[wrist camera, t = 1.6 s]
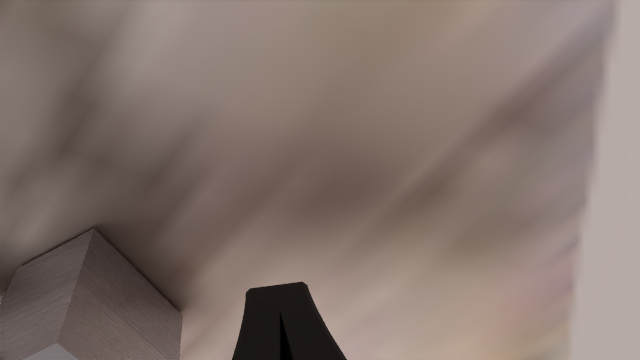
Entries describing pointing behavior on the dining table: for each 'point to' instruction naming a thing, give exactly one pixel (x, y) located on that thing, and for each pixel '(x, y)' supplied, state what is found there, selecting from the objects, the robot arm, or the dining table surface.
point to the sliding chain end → (86, 308)
